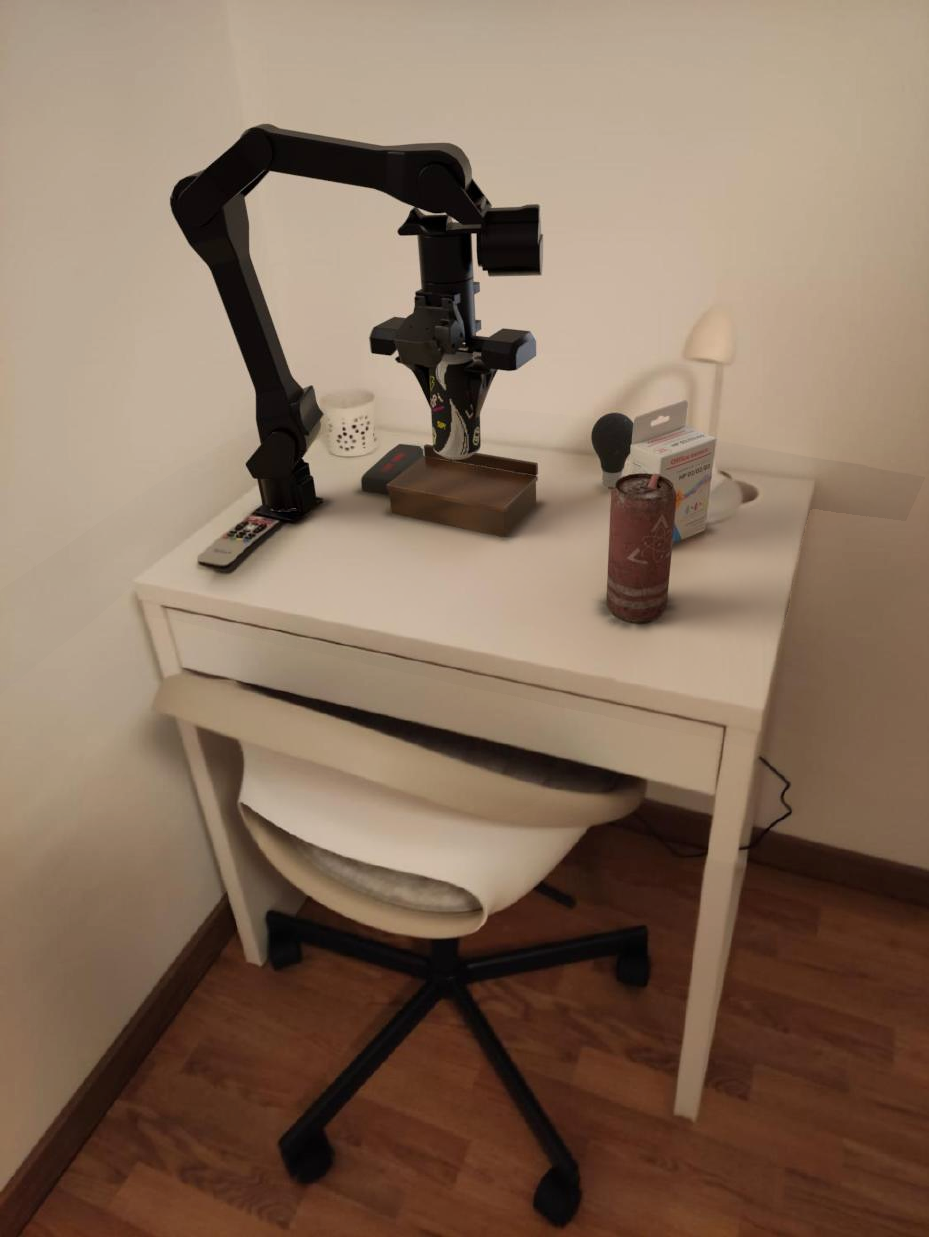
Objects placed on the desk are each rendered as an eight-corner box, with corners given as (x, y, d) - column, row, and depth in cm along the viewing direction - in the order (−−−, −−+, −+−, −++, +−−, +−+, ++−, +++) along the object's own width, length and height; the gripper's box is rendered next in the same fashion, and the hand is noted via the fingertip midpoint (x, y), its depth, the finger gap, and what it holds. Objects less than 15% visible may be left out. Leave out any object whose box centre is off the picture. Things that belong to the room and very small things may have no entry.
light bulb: (640, 483, 114) (645, 409, 109) (622, 501, 110) (626, 425, 105) (601, 475, 117) (603, 403, 111) (582, 492, 113) (584, 418, 107)
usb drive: (361, 491, 117) (359, 472, 115) (400, 455, 126) (398, 437, 124) (397, 496, 115) (395, 477, 113) (434, 459, 124) (432, 441, 122)
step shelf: (389, 513, 111) (384, 473, 108) (427, 482, 118) (424, 443, 115) (506, 538, 104) (504, 496, 101) (539, 503, 111) (539, 463, 108)
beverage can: (468, 466, 103) (465, 365, 96) (425, 458, 105) (418, 359, 98) (488, 447, 107) (486, 349, 100) (446, 440, 109) (441, 343, 102)
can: (673, 596, 92) (684, 474, 84) (657, 629, 87) (668, 503, 79) (616, 586, 94) (623, 465, 86) (598, 617, 90) (603, 493, 82)
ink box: (653, 553, 99) (663, 430, 91) (623, 537, 103) (630, 417, 95) (707, 530, 103) (721, 410, 95) (676, 515, 107) (687, 397, 98)
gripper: (332, 289, 93) (351, 429, 102) (489, 304, 85) (494, 454, 94) (389, 265, 101) (402, 396, 110) (538, 276, 93) (538, 417, 102)
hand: (455, 415), depth 103 cm, fingers closed on beverage can, 5 cm apart
